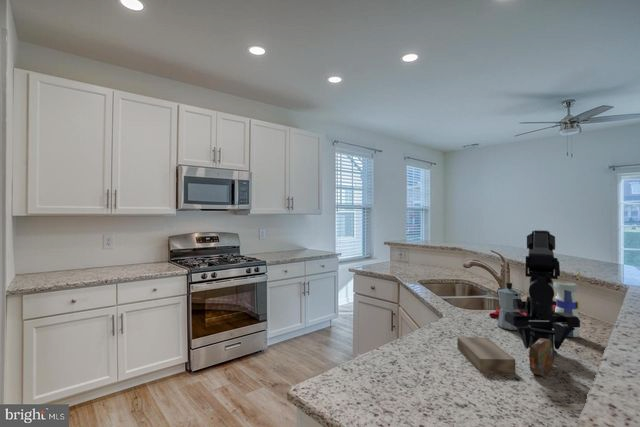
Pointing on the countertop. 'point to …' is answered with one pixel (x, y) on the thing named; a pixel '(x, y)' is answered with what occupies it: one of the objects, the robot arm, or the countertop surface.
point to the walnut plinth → (486, 355)
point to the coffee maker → (507, 304)
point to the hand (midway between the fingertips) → (541, 348)
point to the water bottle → (567, 300)
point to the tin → (541, 356)
